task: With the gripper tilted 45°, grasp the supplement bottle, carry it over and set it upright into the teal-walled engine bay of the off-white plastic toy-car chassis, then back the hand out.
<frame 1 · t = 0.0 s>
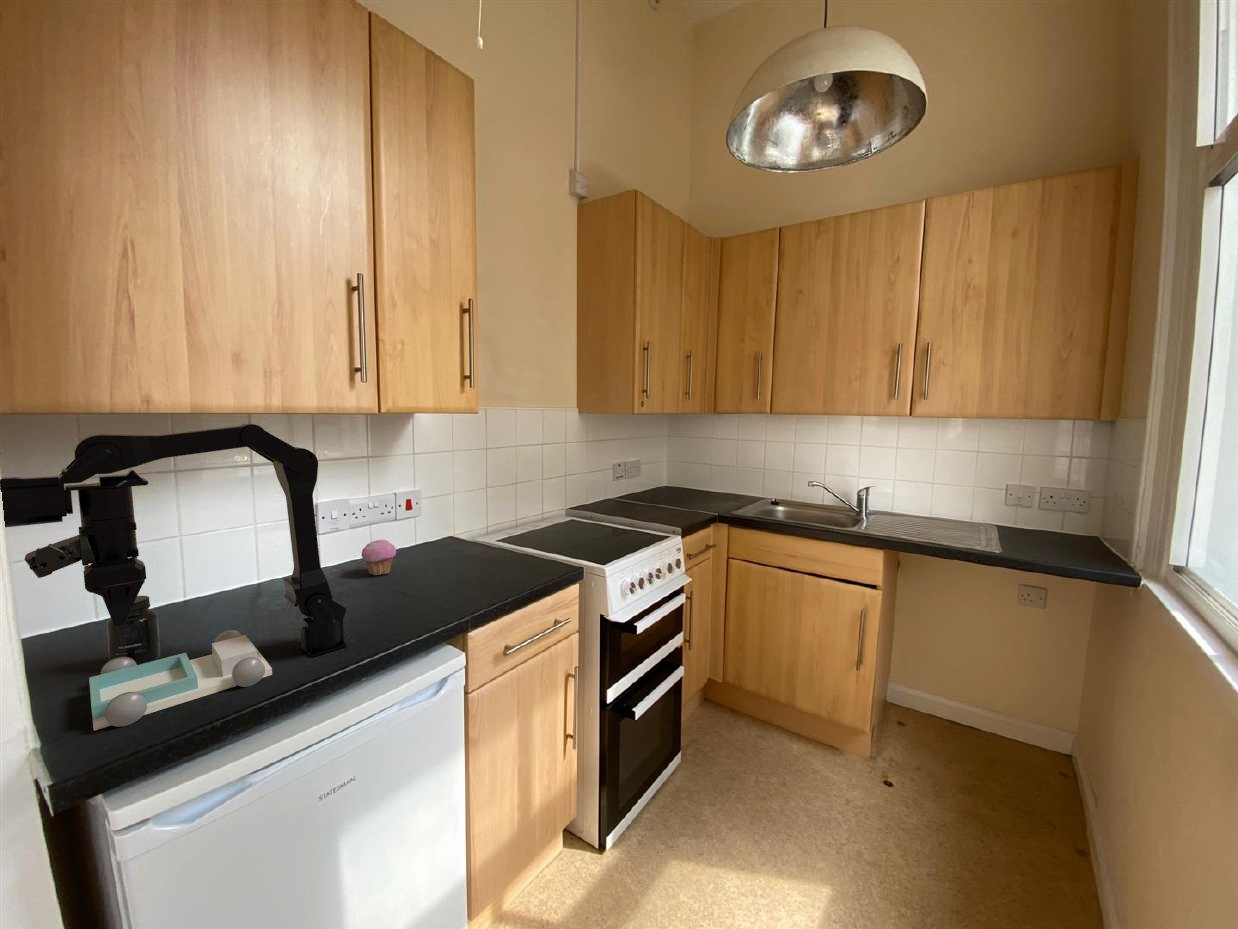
hand: (117, 616, 78), 15 cm above the worktop, tool pointing down, fingers open, 9 cm apart
supplement bottle: (136, 663, 94), on the worktop
chassis: (185, 684, 86), on the worktop
cupcake: (379, 575, 145), on the worktop
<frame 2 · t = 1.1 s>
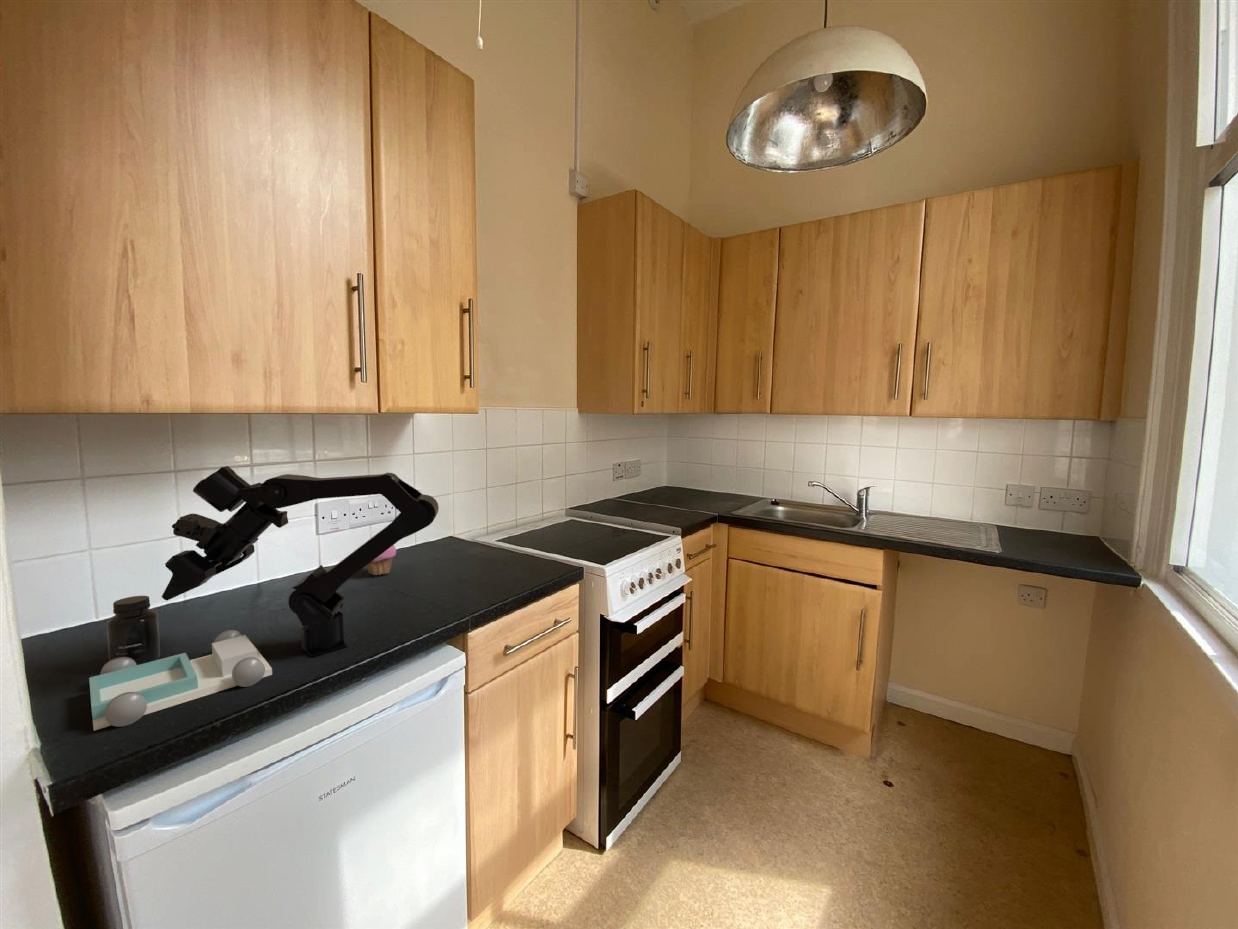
hand: (180, 589, 94), 13 cm above the worktop, tool tilted 45°, fingers open, 9 cm apart
nothing on the worktop moved.
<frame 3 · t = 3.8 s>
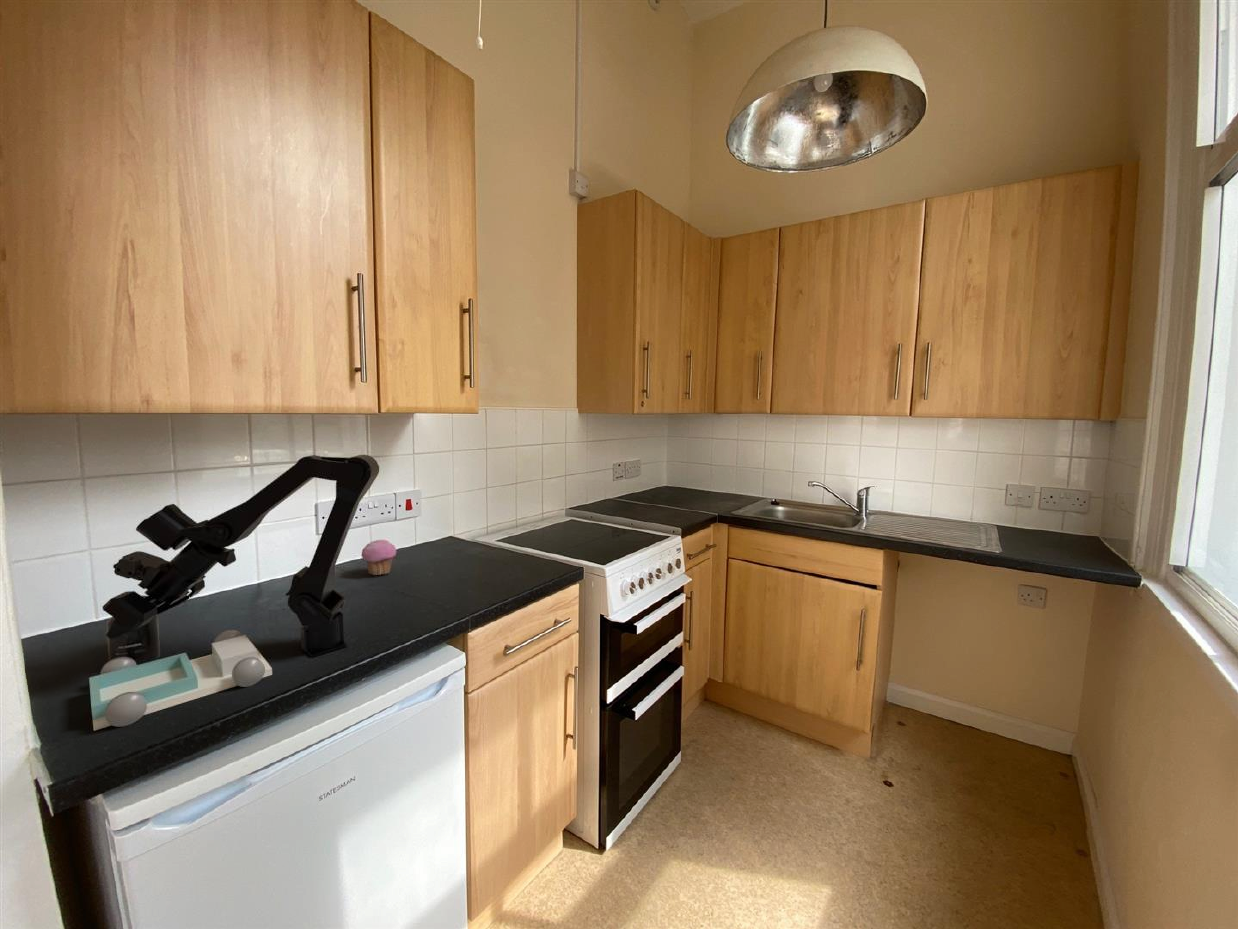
hand: (124, 628, 93), 7 cm above the worktop, tool tilted 45°, fingers closed on supplement bottle, 7 cm apart
supplement bottle: (136, 663, 94), on the worktop, touching gripper
everything else where it was.
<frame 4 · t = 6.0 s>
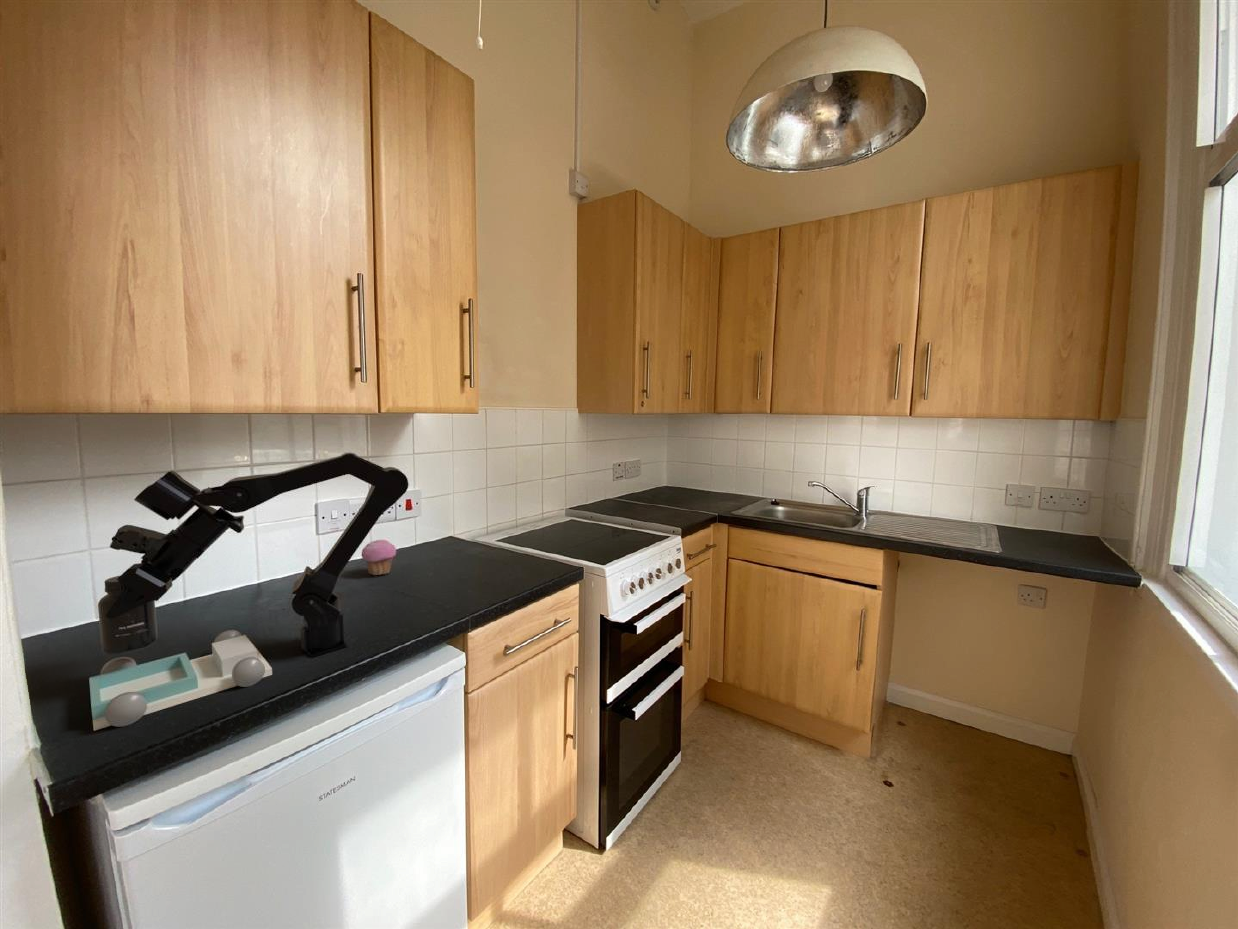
hand: (116, 610, 85), 13 cm above the worktop, tool tilted 45°, fingers closed on supplement bottle, 7 cm apart
supplement bottle: (131, 647, 86), point 6 cm above the worktop, touching gripper
everything else where it was.
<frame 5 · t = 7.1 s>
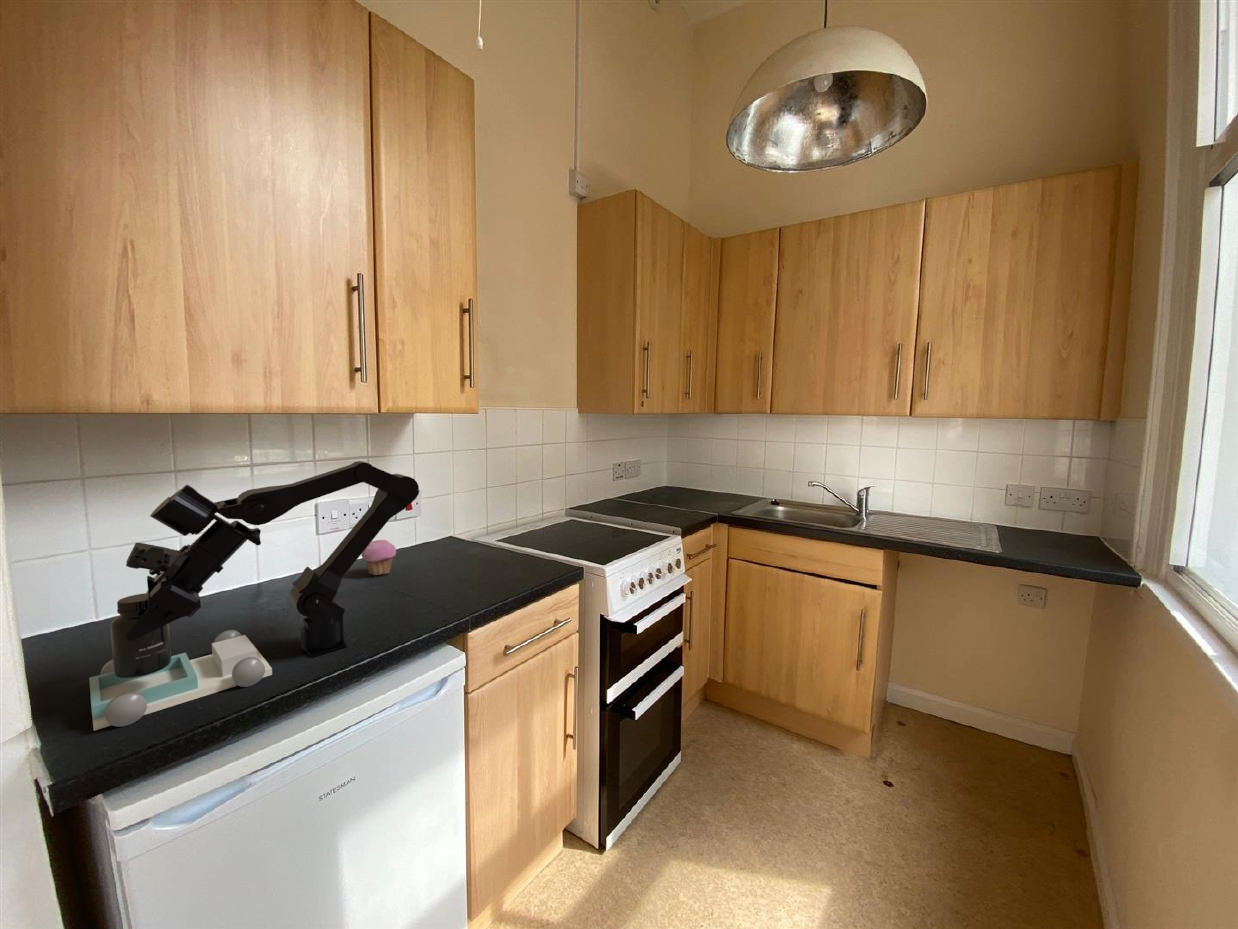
hand: (128, 632, 81), 11 cm above the worktop, tool tilted 45°, fingers closed on supplement bottle, 7 cm apart
supplement bottle: (144, 670, 83), point 4 cm above the worktop, touching gripper
everything else where it was.
when the fingers open (9 cm above the worktop, at t = 8.1 s): supplement bottle drops 1 cm, resting on chassis.
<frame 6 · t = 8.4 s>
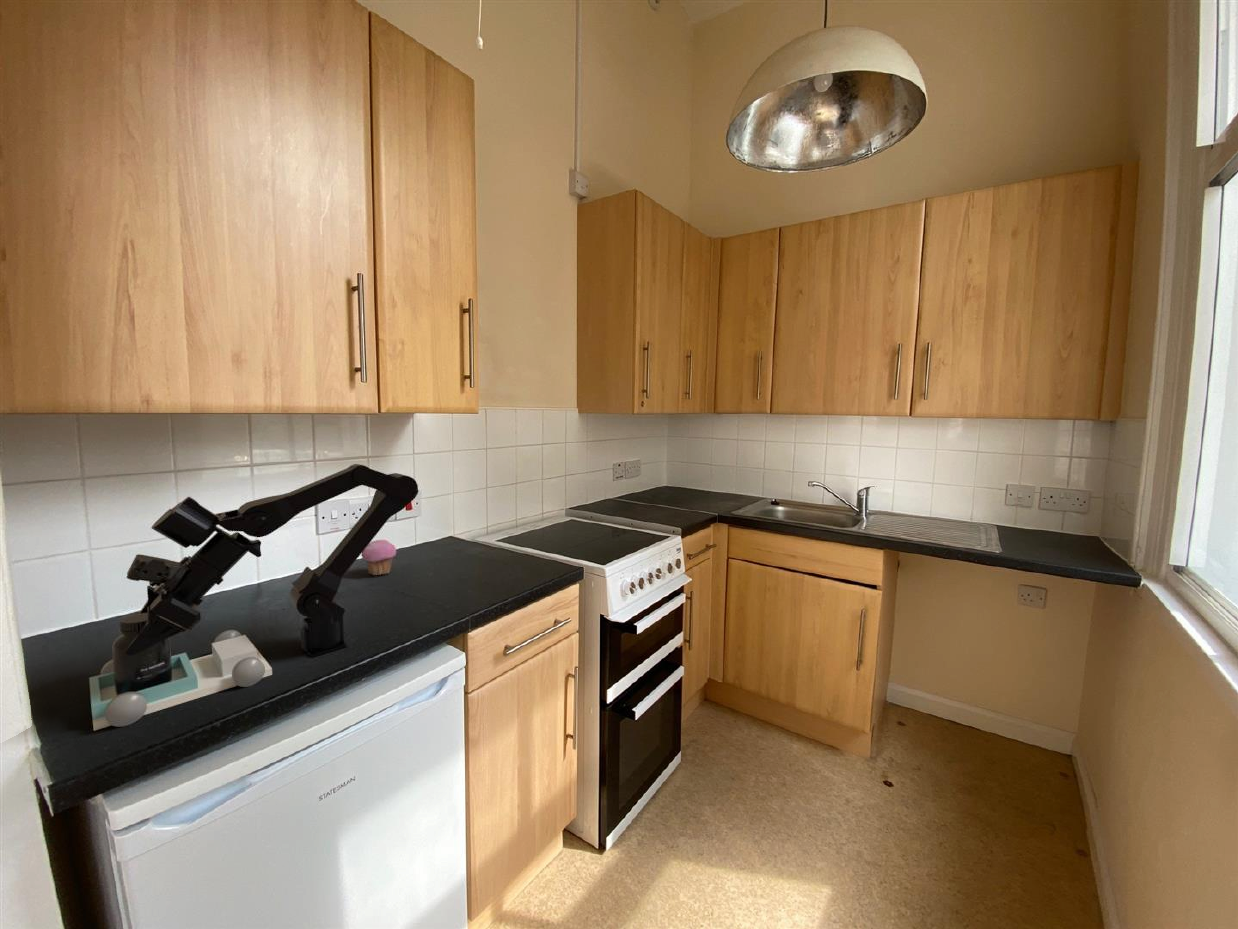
hand: (128, 644, 81), 9 cm above the worktop, tool tilted 45°, fingers open, 9 cm apart
supplement bottle: (145, 689, 83), point 1 cm above the worktop, touching chassis
everything else where it was.
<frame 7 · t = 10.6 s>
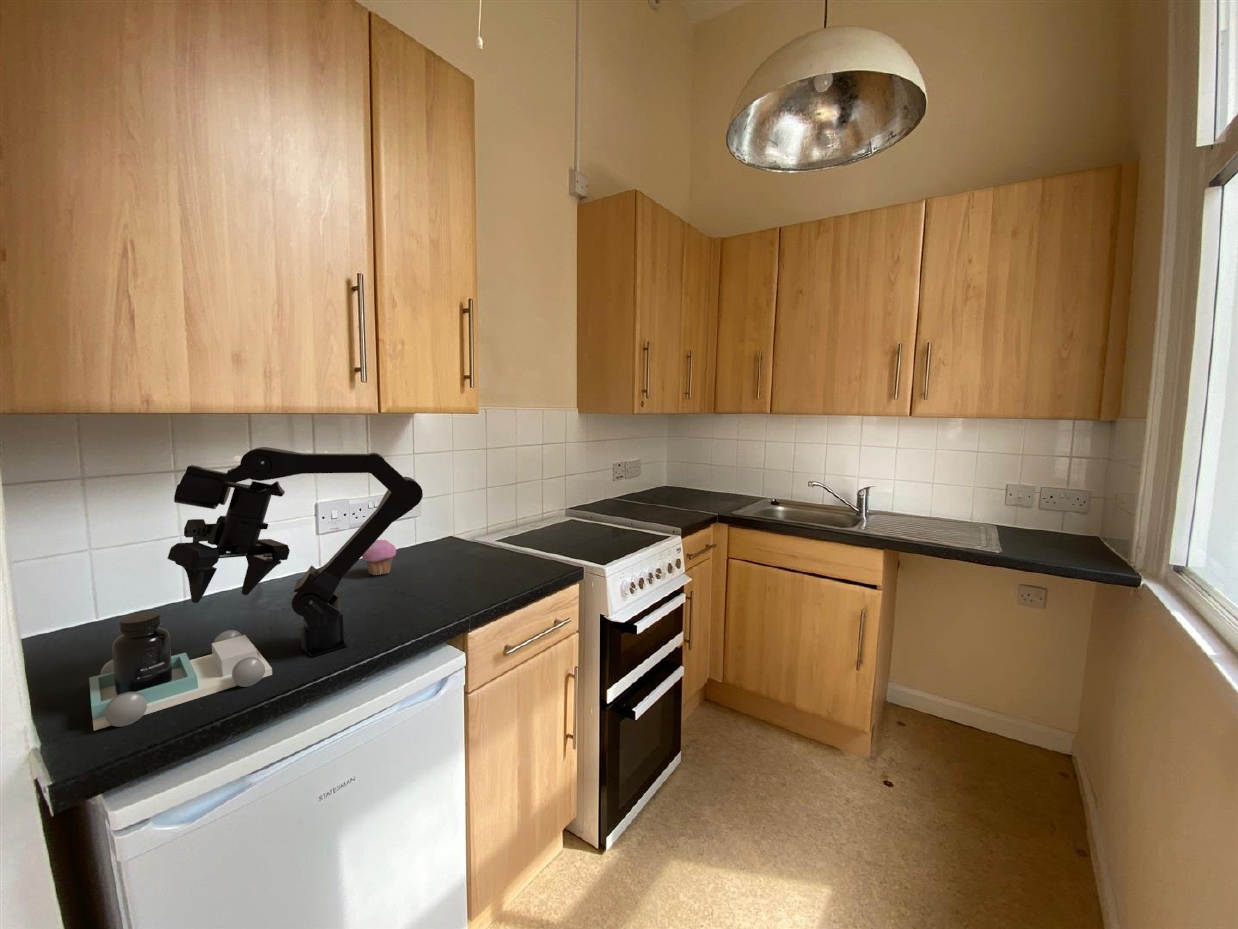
hand: (220, 598, 92), 13 cm above the worktop, tool tilted 15°, fingers open, 9 cm apart
nothing on the worktop moved.
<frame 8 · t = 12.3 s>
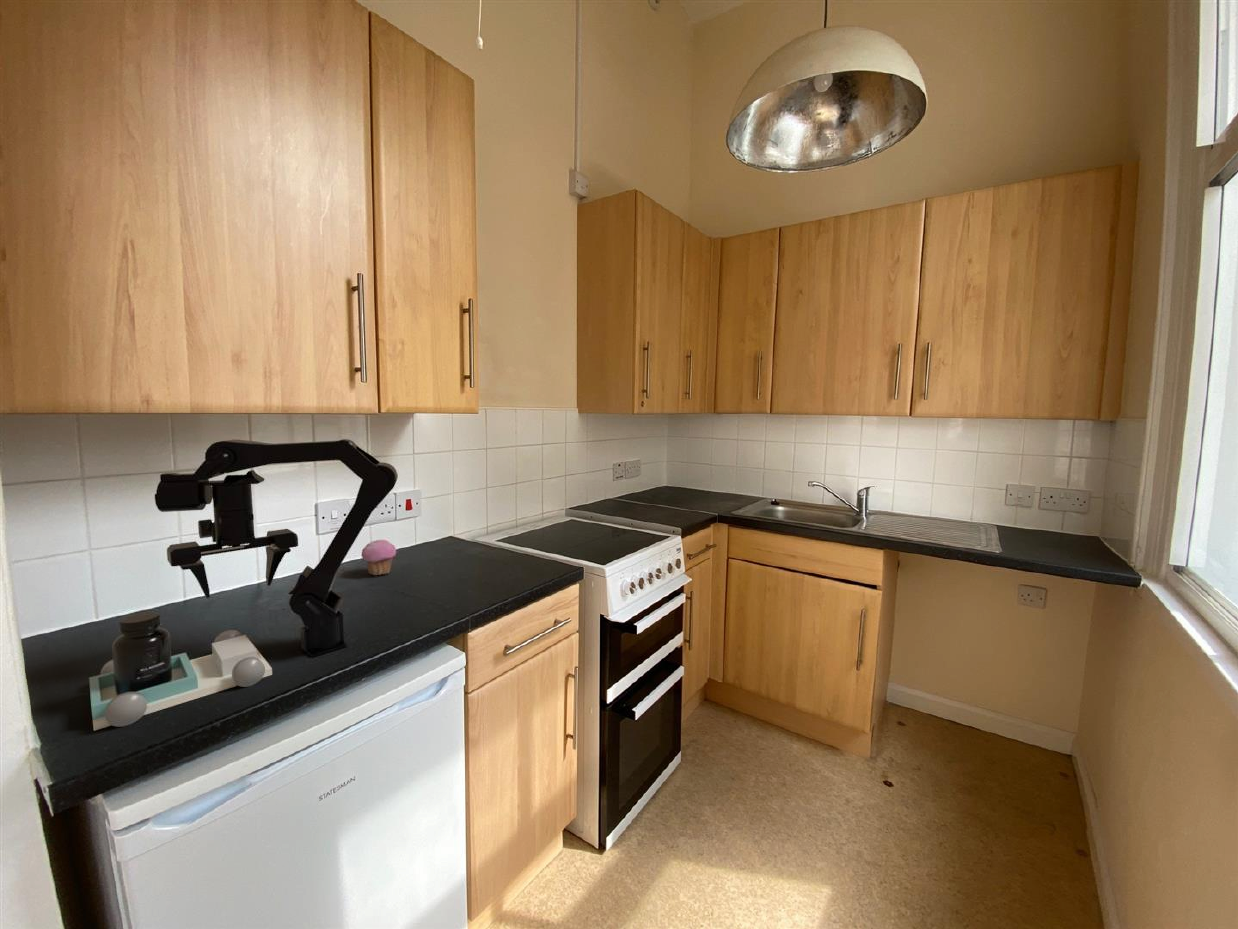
hand: (239, 591, 94), 13 cm above the worktop, tool pointing down, fingers open, 9 cm apart
nothing on the worktop moved.
at the end: supplement bottle 0.1 cm from the target spot on the chassis, point 1.0 cm above the chassis's base; supplement bottle tilted 0°; the gripper is holding nothing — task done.
